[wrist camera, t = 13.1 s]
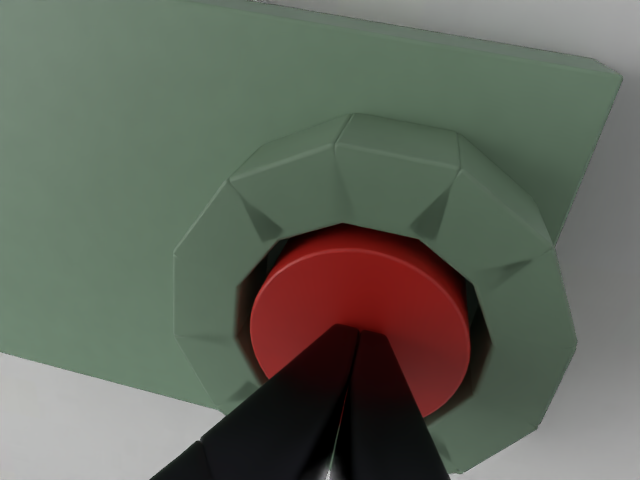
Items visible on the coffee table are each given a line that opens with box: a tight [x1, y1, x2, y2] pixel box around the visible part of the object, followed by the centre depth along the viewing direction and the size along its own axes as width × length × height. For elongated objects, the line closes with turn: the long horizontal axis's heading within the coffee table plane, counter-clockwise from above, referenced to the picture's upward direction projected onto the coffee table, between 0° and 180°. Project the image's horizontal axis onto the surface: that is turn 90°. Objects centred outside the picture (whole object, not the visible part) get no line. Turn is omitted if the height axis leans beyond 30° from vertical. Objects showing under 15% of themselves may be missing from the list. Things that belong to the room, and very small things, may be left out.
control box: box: [0, 0, 623, 474], centre depth 10 cm, size 12×9×4 cm
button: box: [250, 223, 471, 418], centre depth 9 cm, size 4×4×2 cm
